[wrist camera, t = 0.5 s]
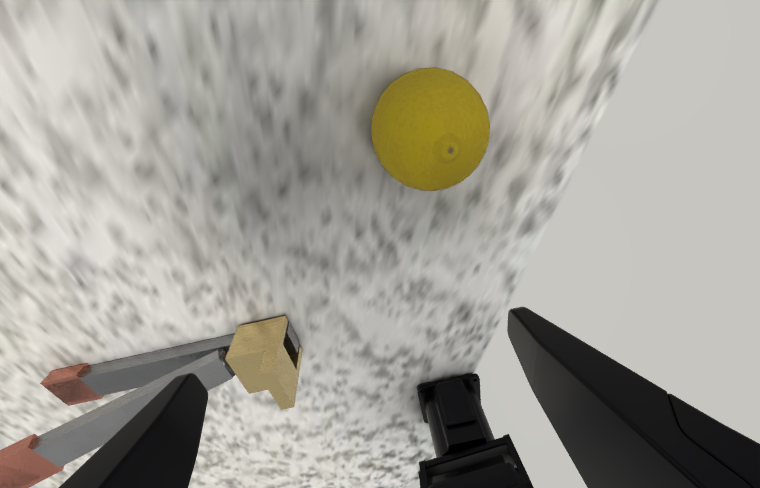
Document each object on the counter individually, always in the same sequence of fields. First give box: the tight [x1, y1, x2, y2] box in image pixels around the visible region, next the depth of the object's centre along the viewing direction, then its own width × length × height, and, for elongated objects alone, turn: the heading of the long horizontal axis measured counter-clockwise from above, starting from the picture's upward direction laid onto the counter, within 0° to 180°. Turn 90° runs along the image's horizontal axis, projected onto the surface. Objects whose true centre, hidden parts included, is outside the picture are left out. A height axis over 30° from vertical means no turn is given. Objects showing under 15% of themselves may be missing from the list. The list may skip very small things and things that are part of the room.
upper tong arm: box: [0, 350, 236, 488], centre depth 23 cm, size 15×3×1 cm, turn 101°
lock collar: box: [225, 316, 302, 410], centre depth 24 cm, size 4×4×5 cm
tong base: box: [40, 322, 299, 406], centre depth 26 cm, size 20×3×1 cm, turn 101°
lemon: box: [371, 68, 490, 191], centre depth 15 cm, size 6×6×8 cm
